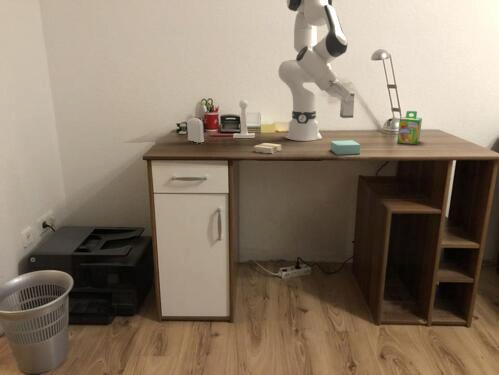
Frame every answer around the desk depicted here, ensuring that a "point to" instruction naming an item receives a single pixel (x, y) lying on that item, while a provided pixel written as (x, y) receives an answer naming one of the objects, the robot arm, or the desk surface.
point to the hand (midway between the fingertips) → (348, 103)
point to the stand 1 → (267, 148)
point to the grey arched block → (195, 130)
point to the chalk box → (409, 129)
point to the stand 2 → (345, 147)
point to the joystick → (244, 122)
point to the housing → (347, 108)
